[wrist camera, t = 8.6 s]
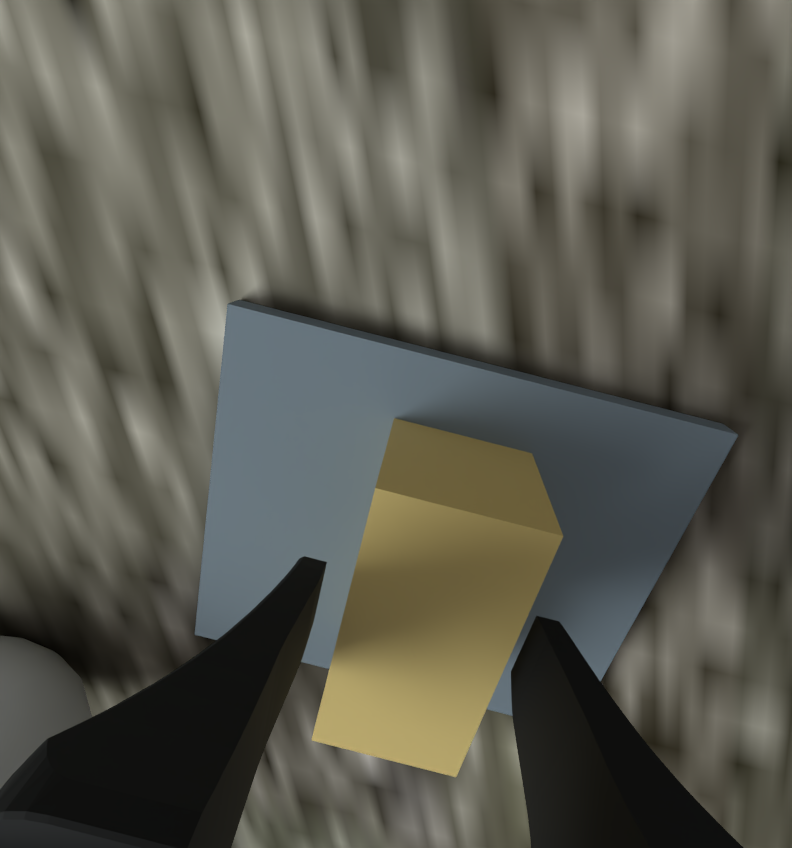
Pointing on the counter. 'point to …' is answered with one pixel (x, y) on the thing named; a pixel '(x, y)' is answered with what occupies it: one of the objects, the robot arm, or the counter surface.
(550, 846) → the robot arm
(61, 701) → the donut
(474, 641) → the yellow rectangular block
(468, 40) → the counter surface
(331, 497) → the mat
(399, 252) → the counter surface
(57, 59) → the counter surface
